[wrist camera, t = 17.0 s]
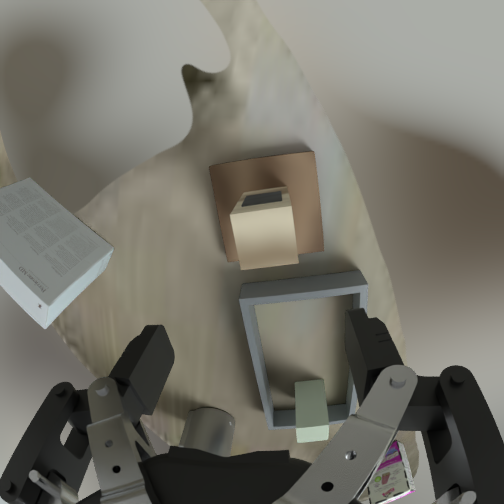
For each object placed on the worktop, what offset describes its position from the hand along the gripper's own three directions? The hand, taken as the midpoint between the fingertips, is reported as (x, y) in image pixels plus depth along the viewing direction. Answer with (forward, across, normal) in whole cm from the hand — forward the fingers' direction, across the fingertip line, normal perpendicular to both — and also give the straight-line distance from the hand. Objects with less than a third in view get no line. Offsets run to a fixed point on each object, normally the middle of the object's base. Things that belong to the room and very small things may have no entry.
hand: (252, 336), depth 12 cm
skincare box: (+24, +32, -3) cm, 40 cm away
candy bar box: (+25, -23, +67) cm, 75 cm away
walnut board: (+24, 0, 0) cm, 24 cm away
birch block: (+23, 0, 0) cm, 23 cm away
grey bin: (+24, -3, +25) cm, 35 cm away
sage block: (+24, -3, +33) cm, 41 cm away
